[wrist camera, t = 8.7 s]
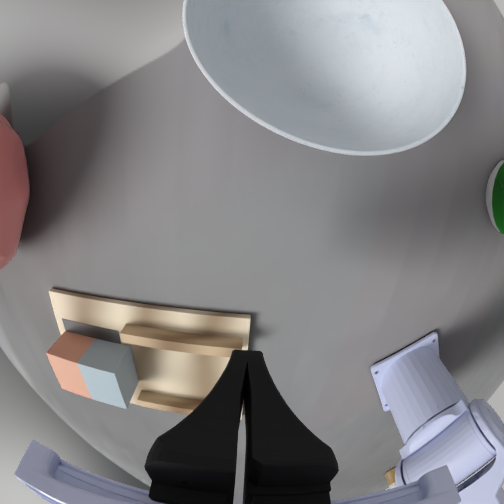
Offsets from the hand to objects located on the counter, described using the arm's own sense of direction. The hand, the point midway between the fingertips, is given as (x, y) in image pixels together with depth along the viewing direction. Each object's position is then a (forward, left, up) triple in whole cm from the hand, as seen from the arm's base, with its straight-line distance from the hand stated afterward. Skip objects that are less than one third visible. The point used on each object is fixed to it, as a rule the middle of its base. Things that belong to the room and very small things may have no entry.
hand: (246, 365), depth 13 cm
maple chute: (-3, +14, -9) cm, 17 cm away
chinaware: (+13, -12, -10) cm, 20 cm away
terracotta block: (0, +20, -9) cm, 21 cm away
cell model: (+20, +18, -10) cm, 29 cm away
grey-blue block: (-2, +16, -9) cm, 18 cm away
